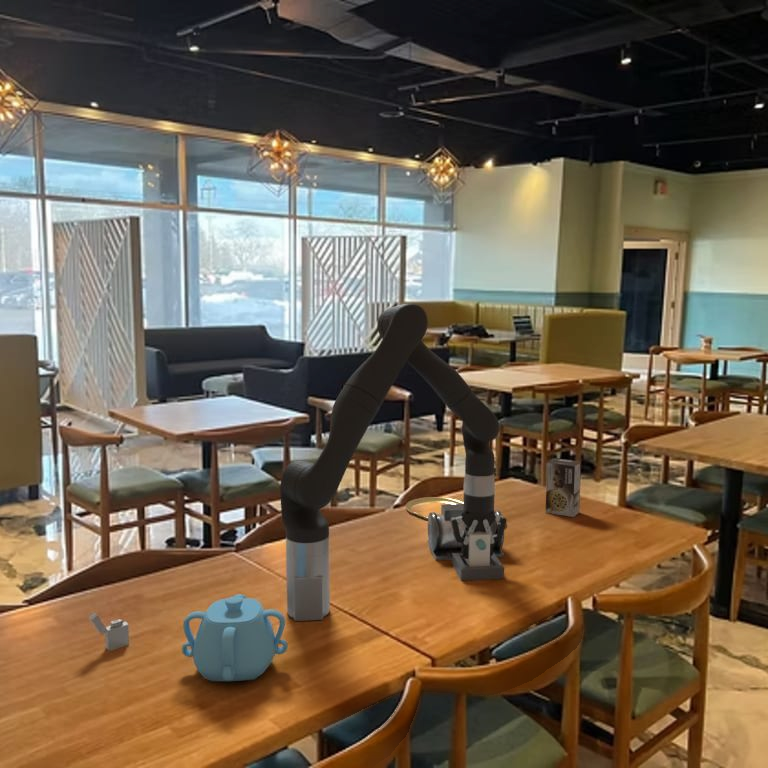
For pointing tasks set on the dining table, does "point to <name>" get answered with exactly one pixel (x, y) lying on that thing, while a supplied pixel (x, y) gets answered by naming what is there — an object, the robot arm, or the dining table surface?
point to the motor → (443, 535)
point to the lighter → (112, 632)
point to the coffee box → (563, 487)
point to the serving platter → (429, 499)
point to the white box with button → (479, 549)
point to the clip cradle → (477, 568)
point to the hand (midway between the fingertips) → (477, 557)
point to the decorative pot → (234, 639)
